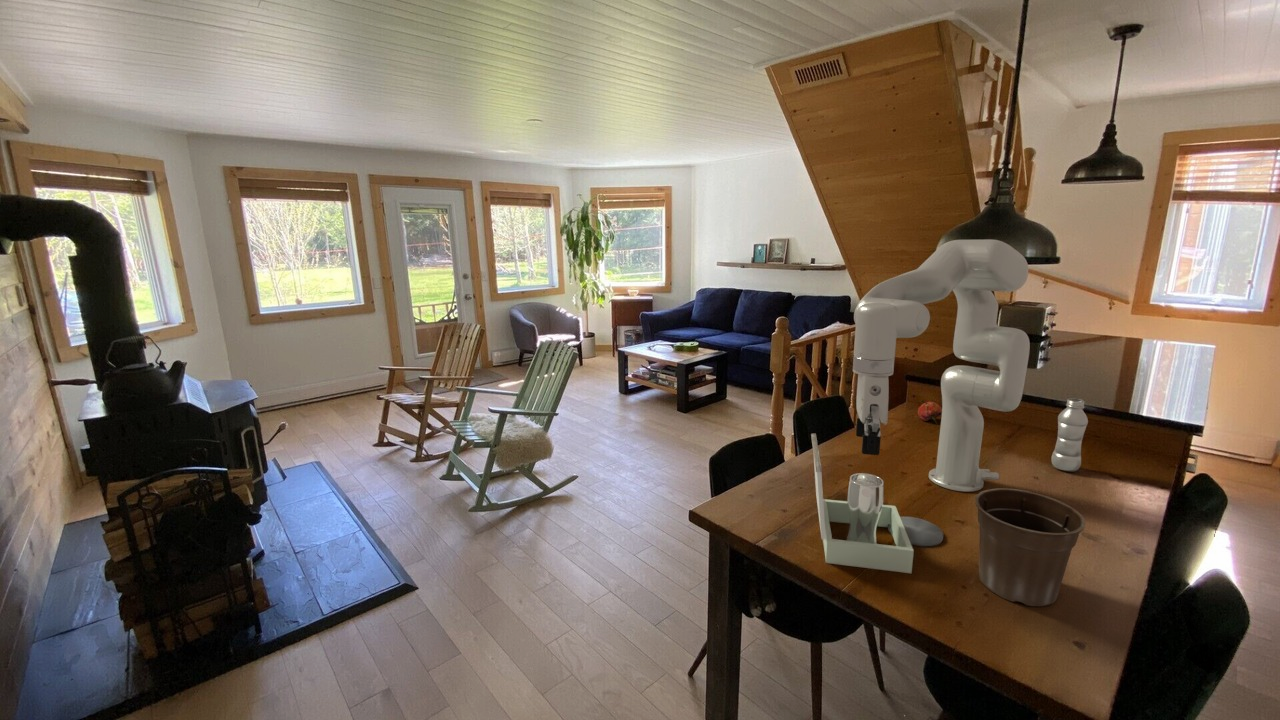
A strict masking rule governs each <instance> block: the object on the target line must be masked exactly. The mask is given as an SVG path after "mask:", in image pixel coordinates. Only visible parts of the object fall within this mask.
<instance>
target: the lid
mask: <svg viewBox="0 0 1280 720" xmlns="http://www.w3.org/2000/svg"><path fill="white" fill-rule="evenodd" d="M810 436H811V437H810V438H811V444H812V451H813V454H812V455H813V466H814V483H815V494H816V503H817V504H816V505H817V506H816V507H817V512H818V514H817V515H818V520H819V528H820V538H821V540H822V541H823V540H826V535H825V520H824V504H823V499H824V493H823V477H822V475H823V474H822V464H821V459H820V451H819V445H818V440H817V439H818V438H817V434H816V433H811V434H810Z"/></svg>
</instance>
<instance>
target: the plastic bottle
mask: <svg viewBox="0 0 1280 720" xmlns="http://www.w3.org/2000/svg"><path fill="white" fill-rule="evenodd" d="M1066 401H1067V402H1066V403H1065V406H1066V408H1064V409H1063V410H1062V411H1060V413H1059V414H1058V415H1057V424H1058V425H1057V429H1058V430H1057V437H1056V438H1057V439H1056V443H1055V445H1054V447H1055V448H1054V450H1053V451H1052V455H1051V464H1052V466H1053V467H1054V468H1056V469H1057V470H1061V471H1064V472H1077V471H1078V470H1079V469H1080V467H1081V465H1082V454H1081V453H1082V443H1083V440H1084V439H1083V438H1084V435H1085V431H1086V428H1087V426H1088V423H1089V420H1088V416H1087V415H1086V413H1085V412H1084V409H1085V400H1083V399H1080V398H1076V397H1075V398H1072V397H1070V398H1067V400H1066Z"/></svg>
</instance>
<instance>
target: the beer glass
mask: <svg viewBox="0 0 1280 720" xmlns="http://www.w3.org/2000/svg"><path fill="white" fill-rule="evenodd" d="M846 501H847V502H848V512H849V520H850V523H849V529H848V533H847V537H846V541H855V542H863V543H872V544H878V543H877V542H878V541H877V528H878V526H877V524H878V521H879V518H880V514H881V511H882V506H883V505H884V480H883V479H882V478H881V477H879V476H877V475H875V474H870V473H866V472H861V473H860V472H859V473H858V472H857V473H854V474H852V475H850V476H849V483H848V489H847V500H846Z"/></svg>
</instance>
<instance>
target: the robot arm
mask: <svg viewBox="0 0 1280 720" xmlns="http://www.w3.org/2000/svg"><path fill="white" fill-rule="evenodd" d="M1028 277H1029V264H1028V262H1027V259H1026V258H1025V256H1024V255H1022V253H1020V252H1019V251H1018V250H1016V249H1015V248H1014V247H1012V246H1011V245H1010V244H1008V243H1006V242H1004V241H1001V240H998V239H955V240H954V239H953V240H950V241H947V242H945V243H943V244H942V245H941V246H939V247H938V248H937V249H936V250H935V251H934V252H933V253H932V254H931V255H930V256H929V257H928V258H927V259H925V261H924V262H923V263H921V265H919V267H917V268H916V269H914V270H911V271H907V272H904V273H901V274H899V275H896V276H894V277H891V278H888V279H886V280H883V281H882V282H880V283H878V284H876V285H875V286H873V287H872V288H871V289H870V290H868V292H867V293H866V294H865V295H864V296H863V297H862V298H861V299H860V300H859V302H858V303H857V305H856V307H855V310H854V313H853V321H854V323H855V332H854V333H855V334H854V348H853V358H852V359H853V361H852V372H853V373H855V374H857V384H856V401H855V402H856V412H857V418H856V426H855V428H856V430H855V431H856V432H855V436H856V437H860V438H862V442H861V443H862V444H861V453H862V455H869V456H870V455H871V456H879V455H880V451H881V450H880V449H881V439H882V436H881V435H882V434H881V424H883V425H884V426H885V425H887V424H888V421H889V420H888V419H889V418H888V416H889V398H890V397H889V390H890V388H889V387H890V386H889V377H890V376H893V375H894V368H895V357H896V348H897V347H896V345H897V339H898V338H900V339H901V338H902V339H910V338H915V337H918V336H920V335H921V334H923V333H924V332H926V330H927V328H928V327H929V324H930V322H931V321H930V320H931V315H930V311H929V309H928V308H927V307H926V304H930V303H934V302H938V301H942V300H943V299H946V297H949V295H950V293H952V292H953V293H954V295H955V298H956V302H957V313H956V321H955V328H954V336H953V341H952V342H953V343H952V351H953V354H954V355H955V357H956V358H958V359H960V360H964V361H967V362H971V363H978V364H979V363H980V364H986V365H991V366H996V367H998V369H999V370H993V369H988V368H982V367H978V366H977V367H976V366H970V365H962V364H961V365H960V364H959V365H953V366H950V367H948V368H946V369H945V370H944V372H943V373H942V375H941V379H940V391H941V403H942V404H941V405H942V407H941V409H942V414H941V417H940V418H941V420H940V427H939V438H938V447H937V457H936V466H935V467H934V468H932V469H930V470H929V472H928V478H929V480H930V481H932V482H933V483H934V485H938V486H940V487H942V488H944V489H948V490H951V491H956V492H964V493H965V492H969V493H970V492H977V491H980V490H981V489H983V488H984V481H985V480H991V481H998V480H1000V475H999V472H995V471H994V472H991V471H990V469H989V468H988V469H987V468H980V467H979V465H980V464H979V463H980V458H981V447H982V441H983V433H984V426H985V421H984V416H983V415H982V412H981V410H980V409H979V408H983V409H984V408H985V409H990V410H994V411H999V412H1012V411H1014V410H1016V409H1017V408H1018V407H1019V405H1020V403H1021V400H1022V398H1023V394H1024V393H1023V392H1024V387H1025V382H1026V375H1027V370H1028V369H1027V368H1028V363H1029V357H1030V345H1031V343H1030V338H1029V336H1028V334H1027V333H1026V332H1025V331H1024V330H1022V329H1019V328H1015V327H1008V326H1001V325H1000V326H998V324H997V320H998V312H999V303H998V300H997V298H996V297H995V295H994V293H993V292H1003V293H1010V292H1016V291H1018V290H1020V289H1021V288H1022V287H1023V286H1024V285H1025V284H1026V282H1027V280H1028ZM924 304H925V305H924Z"/></svg>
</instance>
